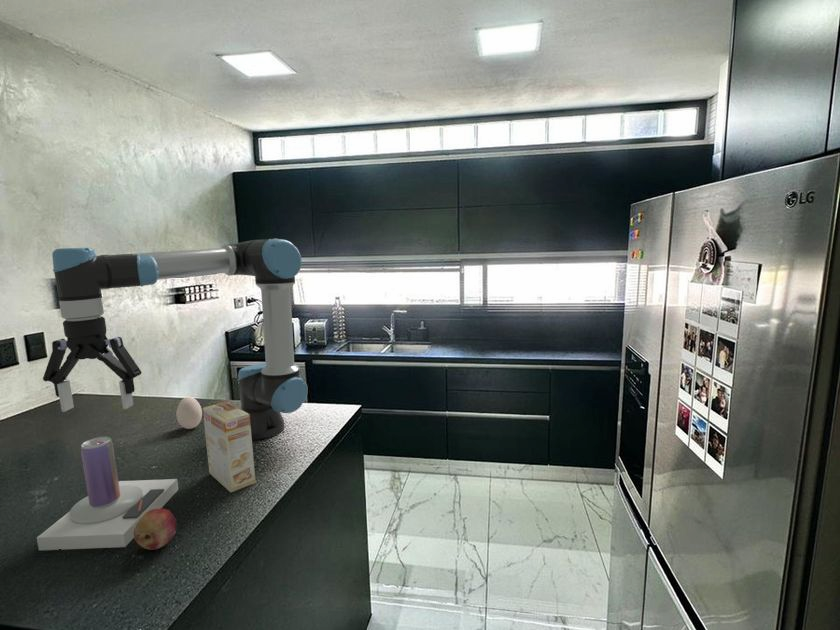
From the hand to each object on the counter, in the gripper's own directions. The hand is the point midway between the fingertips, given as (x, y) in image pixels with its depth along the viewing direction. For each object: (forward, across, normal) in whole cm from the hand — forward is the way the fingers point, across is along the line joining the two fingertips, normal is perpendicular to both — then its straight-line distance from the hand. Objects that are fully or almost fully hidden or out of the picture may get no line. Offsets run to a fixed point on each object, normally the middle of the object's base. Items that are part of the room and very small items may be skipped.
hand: (98, 408), depth 101 cm
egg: (+27, +5, -49) cm, 56 cm away
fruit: (+27, -17, +13) cm, 34 cm away
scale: (+26, -2, +2) cm, 27 cm away
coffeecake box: (+27, -23, -14) cm, 38 cm away
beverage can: (+23, 0, +2) cm, 23 cm away
